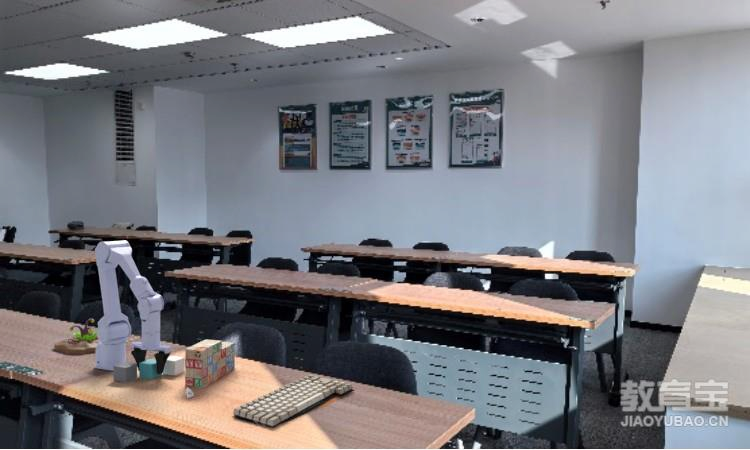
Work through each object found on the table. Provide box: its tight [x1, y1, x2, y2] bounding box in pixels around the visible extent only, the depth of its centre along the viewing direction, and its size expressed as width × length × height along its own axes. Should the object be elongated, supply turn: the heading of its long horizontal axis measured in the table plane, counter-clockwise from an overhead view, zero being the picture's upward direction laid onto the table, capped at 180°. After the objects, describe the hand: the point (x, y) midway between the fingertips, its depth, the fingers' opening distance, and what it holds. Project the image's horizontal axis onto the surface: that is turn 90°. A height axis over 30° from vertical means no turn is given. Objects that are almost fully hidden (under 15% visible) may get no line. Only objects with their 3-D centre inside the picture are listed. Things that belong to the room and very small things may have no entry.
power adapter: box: [185, 387, 194, 399], centre depth 171 cm, size 3×3×3 cm
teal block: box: [138, 358, 163, 380], centre depth 189 cm, size 5×5×5 cm
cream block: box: [162, 355, 186, 376], centre depth 193 cm, size 5×5×5 cm
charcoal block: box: [113, 361, 138, 384], centre depth 185 cm, size 5×5×5 cm
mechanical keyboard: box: [232, 373, 354, 428], centre depth 169 cm, size 38×19×3 cm, turn 151°
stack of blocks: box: [184, 339, 236, 389], centre depth 190 cm, size 21×6×12 cm, turn 166°
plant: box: [53, 318, 100, 356], centre depth 222 cm, size 20×20×11 cm
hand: (150, 371), depth 189 cm, fingers open, 7 cm apart
